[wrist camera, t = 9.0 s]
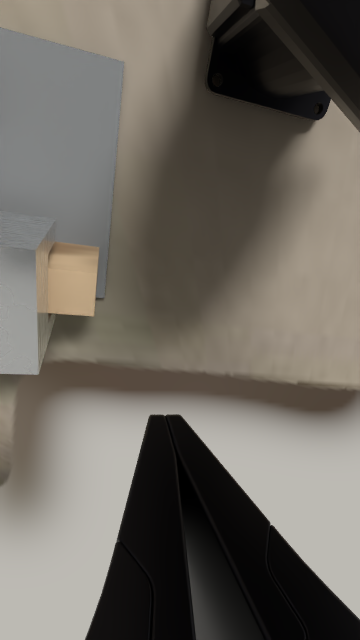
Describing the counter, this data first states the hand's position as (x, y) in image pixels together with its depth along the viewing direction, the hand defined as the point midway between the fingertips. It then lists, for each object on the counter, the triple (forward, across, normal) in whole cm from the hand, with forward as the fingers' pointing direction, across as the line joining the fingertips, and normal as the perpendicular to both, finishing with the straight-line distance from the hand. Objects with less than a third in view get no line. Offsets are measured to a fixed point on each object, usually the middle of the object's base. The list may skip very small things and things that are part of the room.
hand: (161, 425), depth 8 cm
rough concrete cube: (+10, +6, 0) cm, 12 cm away
